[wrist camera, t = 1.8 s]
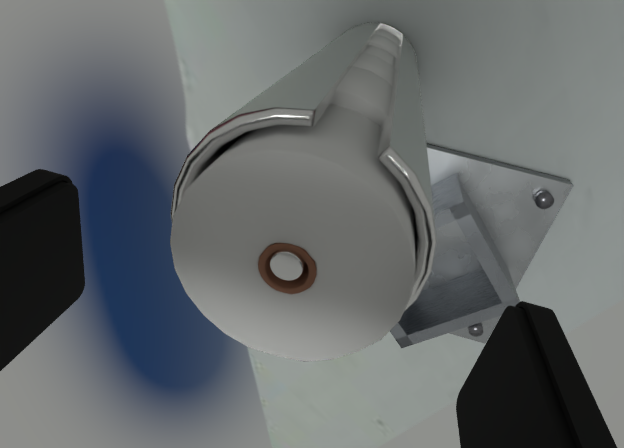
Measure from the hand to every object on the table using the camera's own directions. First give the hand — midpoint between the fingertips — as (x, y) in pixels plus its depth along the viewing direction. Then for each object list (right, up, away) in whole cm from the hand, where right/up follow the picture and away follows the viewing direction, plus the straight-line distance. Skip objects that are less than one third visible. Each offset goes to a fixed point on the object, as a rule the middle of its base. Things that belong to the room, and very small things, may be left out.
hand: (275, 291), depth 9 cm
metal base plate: (+10, 0, +27) cm, 29 cm away
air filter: (+5, +12, +22) cm, 26 cm away
